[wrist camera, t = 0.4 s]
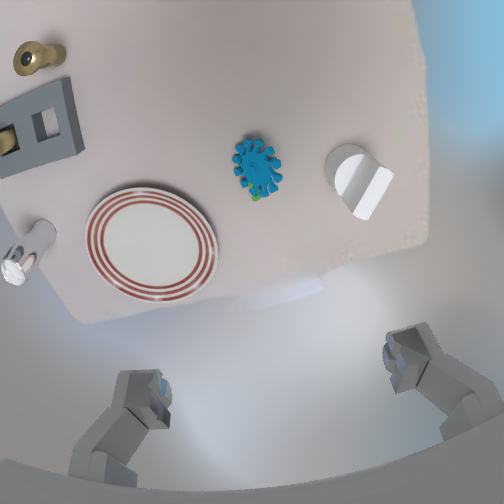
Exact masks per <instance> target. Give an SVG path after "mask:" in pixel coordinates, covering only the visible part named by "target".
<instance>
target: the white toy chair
mask: <svg viewBox="0 0 504 504" xmlns="http://www.w3.org/2000/svg"><path fill="white" fill-rule="evenodd" d="M325 174H326V177H327V179H328V181H329V183H330V184H331V185H332V187H333V188H334V189H335V191H336V192H337V193H338V195H339V196H340V197H341V198H342V199H343V201H344V202H345V204H346V205H347V206H348V208H349V209H350V211H351V212H352V213H353V215H355V216H356V217H358V218H360V219H363V220H368V219H369V217H370V215H371V214H372V212H373V210H374V209H375V207H376V205H377V204H378V202H379V200H380V198H381V197H382V195H383V193H384V192H385V190H386V188H387V186H388V185H389V183H390V181H391V179H392V178H393V176H394V174H393V173H392V172H391V171H390V170H388V169H387V168H386V167H385V166H383V165H382V164H381V163H380V162H378V161H377V160H376V159H375V158H373V157H372V156H371V155H369V154H368V153H367V152H366V151H364V150H363V149H361V148H360V147H358V146H356V145H349V144H347V145H342V146H340V147H338V148H336V149H335V150H334V151H332V152H331V153H330V155H329V156H328V158H327V161H326V163H325Z"/></svg>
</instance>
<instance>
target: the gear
mask: <svg viewBox="0 0 504 504" xmlns="http://www.w3.org/2000/svg"><path fill="white" fill-rule="evenodd" d="M243 143H244V145H245V148H246V154H245V152H244V149H245V148H244V145H243V144H241V145H238V146H237V147H236V148H235V149H236V151H237V152H238V153H239V154H240V156H241V157H240V156H239V155H235V156H234V157H233V160H232V161H233V162H234V163H237V164H239V165H240V166H241V168H242V169H243V170H242V169H241V168H240V167H238V168H236V169H235V175H236V176H239V175H243V176H245V177H246V178H247V179H244V180H242V181H240V183H241V185H242V187H243V188H245V187H247V186H249V188H251V189H250V190H249V192H250V193H251V194H252V195H253V196H252V200H253V201H254V202H255V201H257V200H259V199H261V197H267V196H269V192H270V193H273V192H275V191H277V190H278V187H277V186H276V185H275V184H274V182H273V180H272V177H271V175H272V176H273V179H274V181H275V182H276V183H278V182H280V181H281V180H282V178H283V176H282V175H281V174H279V173H276V172H275V171H274V170H273V169H272V167H271V165H272V166H273V168H275V169H278V168H280V167H281V160H279V159H278V160H277V159H276V158H272V159H268V158H267V156H266V155H268V156H270V155H272V154H274V153H275V151H274V149H273V148H272V146H270V147H267V148H266V149H265V151H264V152H263V153H261V152H260V151H259V147H261V146H263V145H264V142H263V141H262V140H261V139H256V140H255V141H254V149H253V150H251V145H252V144H253V140H252V139H245V140H244V141H243ZM241 158H242V160H241ZM267 187H269V192H268V189H267Z"/></svg>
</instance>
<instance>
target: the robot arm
mask: <svg viewBox="0 0 504 504" xmlns="http://www.w3.org/2000/svg"><path fill="white" fill-rule="evenodd" d="M386 341H387V343H386V344H385V345H384V347H383V352H382V353H383V361H384V365H385V367H386V370H388V371H389V372H391V373H392V375H391V378H390V380H391V383H392V386H393V388H394V391H395V394H397V393H400V392H404V391H407V390H410V389H414V388H416V390H418V391H419V392H420V393H421V394H422V395H424V396H425V397H426V398H427V399H428V400H430V401H431V402H432V403H433V404H434V405H436V406H437V407H438V408H439V409H440V410H441V411H443V412H444V413H445V414H446V415H447V416H448V418H447V419H446V420H445V421H444V422H443V424H442V425H441V427H440V432H441V434H442V437H443V440H444V442H442V443H439V444H437V445H435V446H432V447H430V448H427V449H425V450H422V451H419V452H417V453H414V454H411V455H408V456H406V457H403V458H400V459H397V460H394V461H391V462H388V463H384V464H381V465H378V466H374V467H371V468H367V469H364V470H360V471H356V472H352V473H348V474H344V475H340V476H335V477H330V478H326V479H321V480H316V481H310V482H304V483H298V484H291V485H284V486H277V487H268V488H259V489H245V490H228V491H174V490H173V491H172V490H157V489H145V488H137V476H138V474H137V473H136V472H135V471H134V470H132V469H130V468H128V467H127V466H126V465H127V463H128V462H129V460H130V459H131V457H132V456H133V454H134V453H135V451H136V450H137V448H138V447H139V445H140V444H141V442H142V441H143V439H144V438H145V436H146V435H147V433H148V432H149V430H148V429H169V426H170V412H169V411H168V409H167V408H168V407H169V406H170V405H171V403H172V393H171V388H170V385H169V383H168V382H167V380H165V379H163V378H162V373H161V372H160V370H159V369H152V370H151V369H150V370H123V371H120V373H119V374H118V377H117V381H116V386H115V390H114V395H113V400H112V404H111V408H107V409H106V410H105V411H104V412H103V413H102V415H101V416H100V417H99V418H98V419H97V420H96V421H95V422H94V424H93V425H92V426H91V427H90V428H89V429H88V430H87V432H86V433H85V434H84V435H83V436H82V437H81V438H80V439H79V441H78V442H77V443H76V444H75V445H74V446H73V450H72V456H71V460H70V466H69V471H68V476H66V475H61V474H57V473H54V472H50V471H46V470H42V469H39V468H36V467H32V466H29V465H26V464H23V463H20V462H17V461H14V460H11V459H7V458H5V459H2V460H0V504H504V403H503V401H502V399H501V397H500V395H499V393H498V390H497V389H496V387H495V385H494V383H493V382H492V381H490V380H489V379H487V378H486V377H484V376H483V375H480V374H479V373H478V372H476V371H474V370H473V369H471V368H470V367H468V366H466V365H465V364H463V363H462V362H460V361H458V360H457V359H455V358H453V357H452V356H450V355H448V354H447V355H445V354H444V353H443V351H442V349H441V347H440V345H439V343H438V342H437V340H436V338H435V336H434V334H433V333H432V331H431V329H430V327H429V325H428V324H427V323H426V322H422V323H419V324H416V325H411V326H407V327H404V328H401V329H397V330H393V331H390V332H388V333H387V335H386Z"/></svg>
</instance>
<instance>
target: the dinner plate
mask: <svg viewBox="0 0 504 504" xmlns="http://www.w3.org/2000/svg"><path fill="white" fill-rule="evenodd" d="M84 239H85V248H86V252H87V255H88V258H89V260H90V262H91V264H92V266H93V268H94V269H95V271H96V272H97V273H98V275H99V276H100V277H101V278H102V279H103V280H104V281H105V282H106V283H107V284H108V285H109V286H111V287H112V288H113V289H115V290H116V291H118V292H120V293H121V294H123V295H125V296H128V297H130V298H133V299H136V300H139V301H143V302H148V303H172V302H177V301H181V300H184V299H187V298H189V297H191V296H193V295H195V294H196V293H198V292H199V291H200V290H202V289H203V288H204V287H205V286H206V285H207V284H208V282H209V281H210V280H211V278H212V277H213V275H214V273H215V270H216V267H217V263H218V245H217V240H216V237H215V234H214V232H213V230H212V228H211V226H210V224H209V223H208V221H207V220H206V219H205V217H204V216H203V215H202V214H201V213H200V212H199V211H198V210H197V209H196V208H195V207H194V206H192V205H191V204H190V203H188V202H187V201H186V200H184V199H182V198H181V197H179V196H177V195H175V194H172V193H170V192H167V191H164V190H160V189H155V188H147V187H137V188H129V189H124V190H121V191H118V192H116V193H113V194H111V195H110V196H108V197H106V198H105V199H104V200H102V201H101V202H100V203H99V204H98V205H97V206H96V207H95V209H94V210H93V211H92V213H91V214H90V216H89V218H88V221H87V224H86V228H85V237H84Z"/></svg>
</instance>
